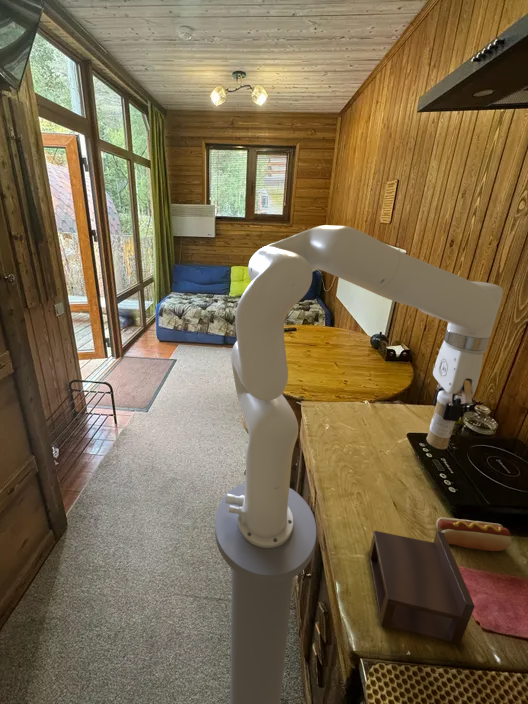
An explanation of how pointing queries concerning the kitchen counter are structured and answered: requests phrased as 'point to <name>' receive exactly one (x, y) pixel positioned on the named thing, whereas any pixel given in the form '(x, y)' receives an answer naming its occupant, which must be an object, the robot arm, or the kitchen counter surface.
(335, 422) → the kitchen counter surface
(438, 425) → the sprinkles bottle
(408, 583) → the spice rack
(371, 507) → the kitchen counter surface
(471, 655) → the kitchen counter surface
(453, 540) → the food
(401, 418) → the kitchen counter surface
